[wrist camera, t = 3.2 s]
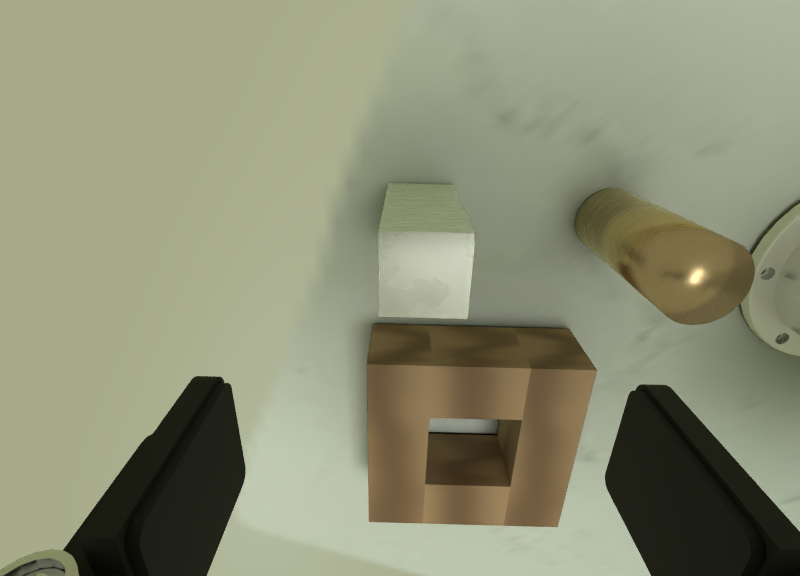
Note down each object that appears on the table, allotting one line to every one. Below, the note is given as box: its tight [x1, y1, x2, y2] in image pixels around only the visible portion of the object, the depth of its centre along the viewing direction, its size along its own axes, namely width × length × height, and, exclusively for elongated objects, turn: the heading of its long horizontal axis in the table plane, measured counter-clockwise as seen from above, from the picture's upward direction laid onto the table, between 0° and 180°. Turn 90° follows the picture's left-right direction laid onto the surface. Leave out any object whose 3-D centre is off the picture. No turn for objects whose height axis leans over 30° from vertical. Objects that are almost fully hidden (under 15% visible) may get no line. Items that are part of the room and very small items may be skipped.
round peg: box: [576, 188, 755, 325], centre depth 23 cm, size 4×4×10 cm
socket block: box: [367, 324, 597, 527], centre depth 32 cm, size 14×14×5 cm
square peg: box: [378, 183, 476, 319], centre depth 23 cm, size 4×4×10 cm
